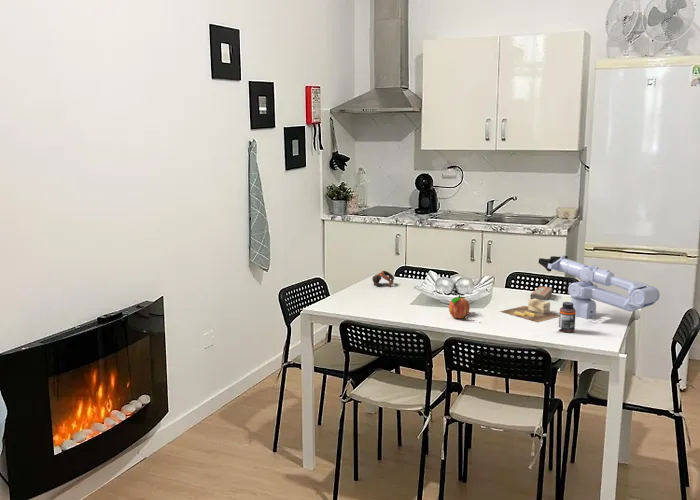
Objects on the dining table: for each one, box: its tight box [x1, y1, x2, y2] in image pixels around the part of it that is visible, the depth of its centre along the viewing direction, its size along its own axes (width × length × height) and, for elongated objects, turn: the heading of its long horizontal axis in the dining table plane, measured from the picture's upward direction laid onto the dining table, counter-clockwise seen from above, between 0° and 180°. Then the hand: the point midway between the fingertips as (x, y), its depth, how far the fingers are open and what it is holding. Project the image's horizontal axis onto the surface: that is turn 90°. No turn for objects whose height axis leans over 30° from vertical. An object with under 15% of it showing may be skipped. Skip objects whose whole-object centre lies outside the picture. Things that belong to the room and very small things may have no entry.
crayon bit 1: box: [514, 311, 526, 316], centre depth 289 cm, size 5×1×1 cm, turn 36°
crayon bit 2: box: [524, 312, 536, 316], centre depth 289 cm, size 5×1×1 cm, turn 36°
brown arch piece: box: [372, 270, 395, 288], centre depth 346 cm, size 12×10×8 cm
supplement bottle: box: [558, 301, 576, 334], centre depth 271 cm, size 6×6×11 cm
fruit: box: [448, 293, 470, 319], centre depth 289 cm, size 9×10×10 cm
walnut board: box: [499, 305, 560, 323], centre depth 291 cm, size 20×16×2 cm
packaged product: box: [529, 286, 557, 301], centre depth 320 cm, size 18×5×10 cm
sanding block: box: [527, 299, 551, 315], centre depth 293 cm, size 8×4×5 cm, turn 36°
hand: (545, 259), depth 300 cm, fingers open, 7 cm apart
